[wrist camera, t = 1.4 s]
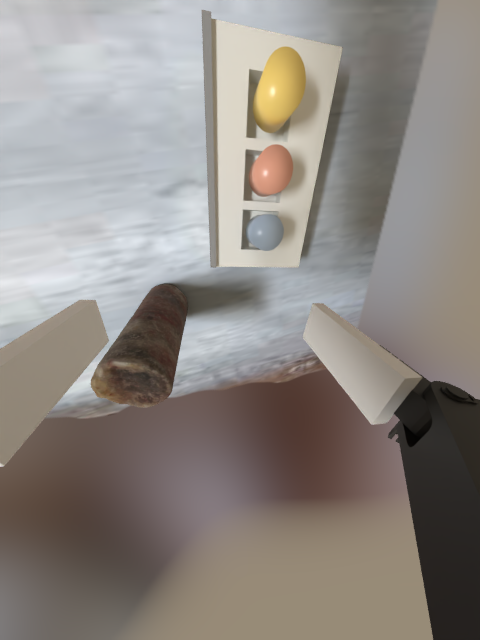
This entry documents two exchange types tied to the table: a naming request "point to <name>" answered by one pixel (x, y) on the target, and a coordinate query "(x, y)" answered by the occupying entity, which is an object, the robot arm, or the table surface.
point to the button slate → (265, 231)
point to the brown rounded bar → (145, 351)
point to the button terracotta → (271, 171)
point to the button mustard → (279, 89)
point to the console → (259, 139)
